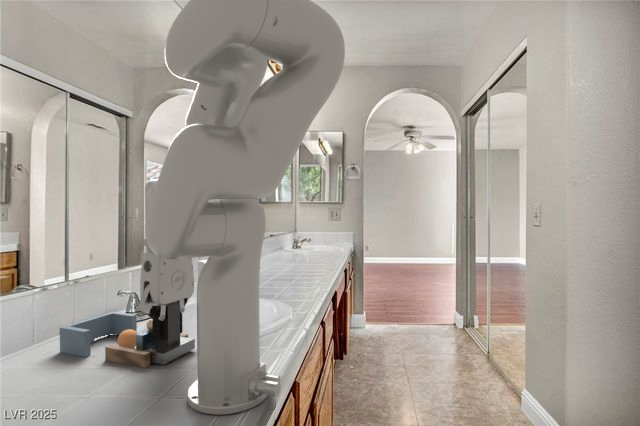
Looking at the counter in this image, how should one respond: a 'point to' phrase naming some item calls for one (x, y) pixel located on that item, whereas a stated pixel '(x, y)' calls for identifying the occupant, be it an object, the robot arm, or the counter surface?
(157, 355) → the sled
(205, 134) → the robot arm
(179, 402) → the counter surface
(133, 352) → the rail
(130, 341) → the ball
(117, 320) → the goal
